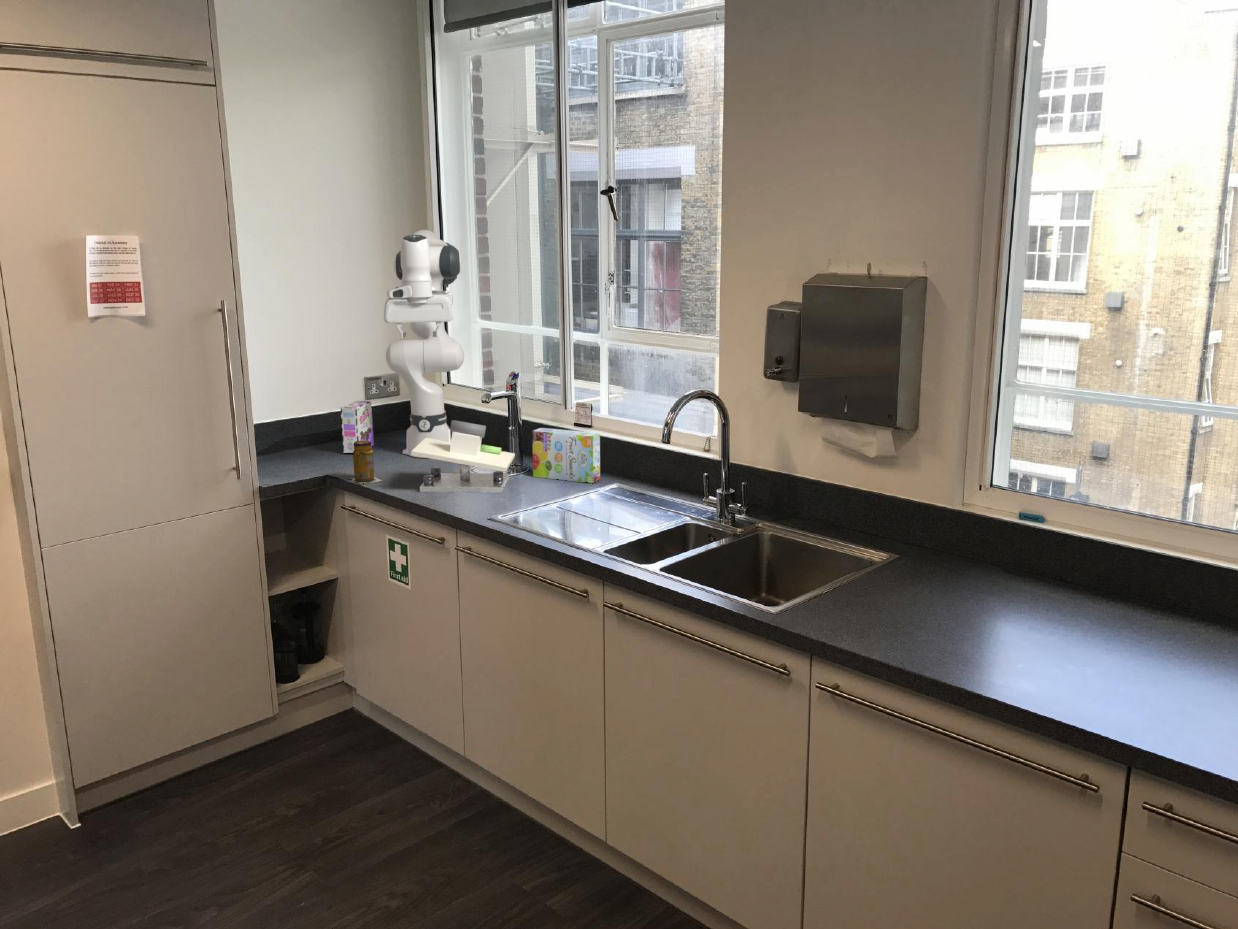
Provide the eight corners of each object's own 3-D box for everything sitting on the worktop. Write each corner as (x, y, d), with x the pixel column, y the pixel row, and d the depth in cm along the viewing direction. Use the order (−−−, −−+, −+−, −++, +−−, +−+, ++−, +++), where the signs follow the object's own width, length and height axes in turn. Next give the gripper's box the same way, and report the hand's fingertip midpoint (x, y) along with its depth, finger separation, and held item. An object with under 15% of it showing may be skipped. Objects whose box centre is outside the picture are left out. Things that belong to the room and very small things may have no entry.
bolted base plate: (420, 491, 297) (418, 465, 295) (431, 478, 313) (430, 453, 311) (500, 492, 296) (500, 466, 294) (508, 478, 312) (508, 453, 310)
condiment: (370, 476, 316) (367, 438, 313) (382, 481, 310) (380, 443, 307) (348, 479, 312) (345, 441, 309) (360, 485, 305) (357, 446, 302)
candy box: (359, 454, 344) (355, 407, 340) (342, 454, 345) (339, 406, 341) (374, 446, 357) (371, 400, 353) (359, 445, 358) (356, 399, 354)
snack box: (601, 480, 310) (600, 432, 306) (593, 484, 305) (592, 435, 301) (540, 473, 319) (539, 426, 315) (532, 477, 314) (530, 429, 310)
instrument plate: (411, 454, 294) (415, 420, 291) (425, 441, 311) (429, 409, 309) (505, 471, 294) (510, 437, 291) (514, 457, 311) (519, 425, 309)
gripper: (451, 289, 306) (453, 335, 309) (382, 291, 300) (384, 337, 304) (453, 290, 300) (455, 337, 303) (383, 292, 294) (386, 339, 298)
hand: (419, 337), depth 303 cm, fingers open, 8 cm apart
